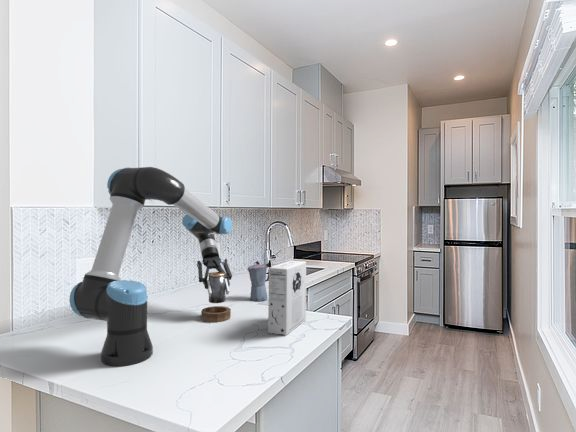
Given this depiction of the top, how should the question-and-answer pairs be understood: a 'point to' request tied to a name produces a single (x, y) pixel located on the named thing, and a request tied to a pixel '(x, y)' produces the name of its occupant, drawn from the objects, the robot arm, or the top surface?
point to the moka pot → (258, 281)
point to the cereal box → (287, 296)
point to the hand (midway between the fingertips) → (219, 293)
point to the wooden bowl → (216, 314)
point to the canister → (217, 287)
